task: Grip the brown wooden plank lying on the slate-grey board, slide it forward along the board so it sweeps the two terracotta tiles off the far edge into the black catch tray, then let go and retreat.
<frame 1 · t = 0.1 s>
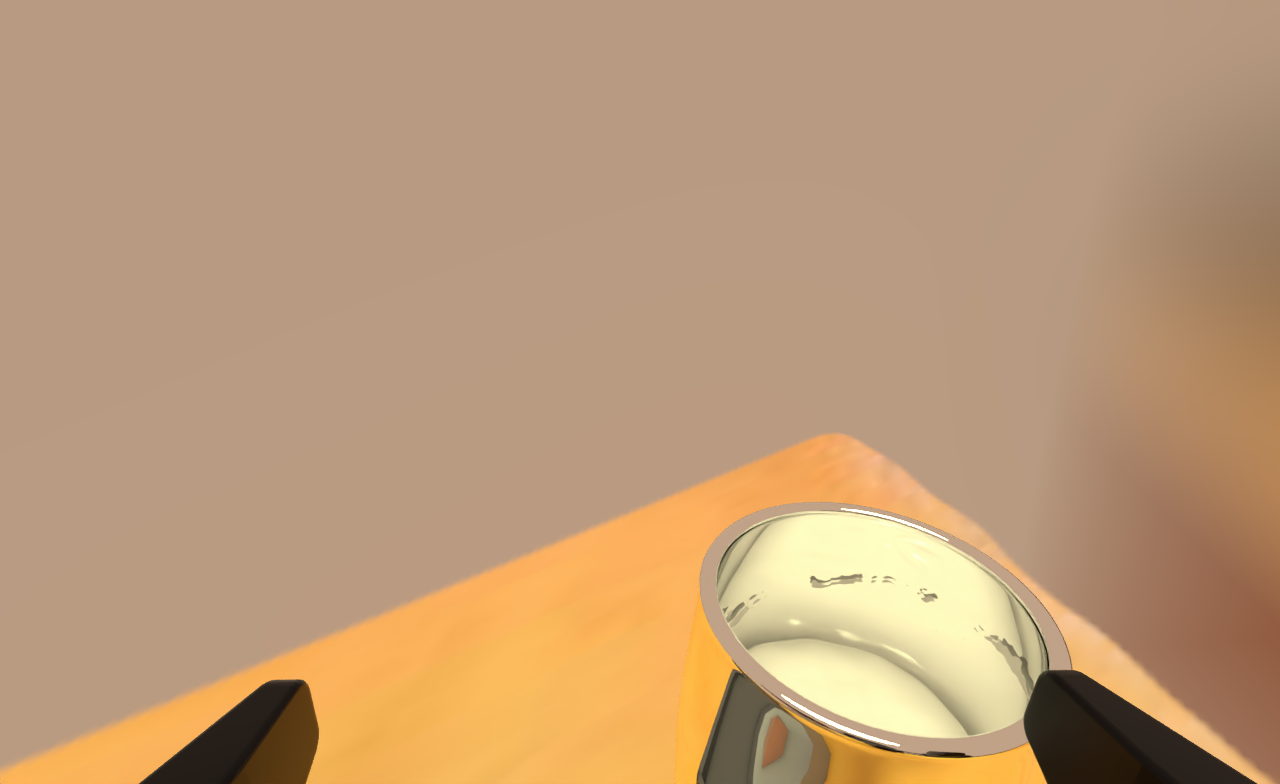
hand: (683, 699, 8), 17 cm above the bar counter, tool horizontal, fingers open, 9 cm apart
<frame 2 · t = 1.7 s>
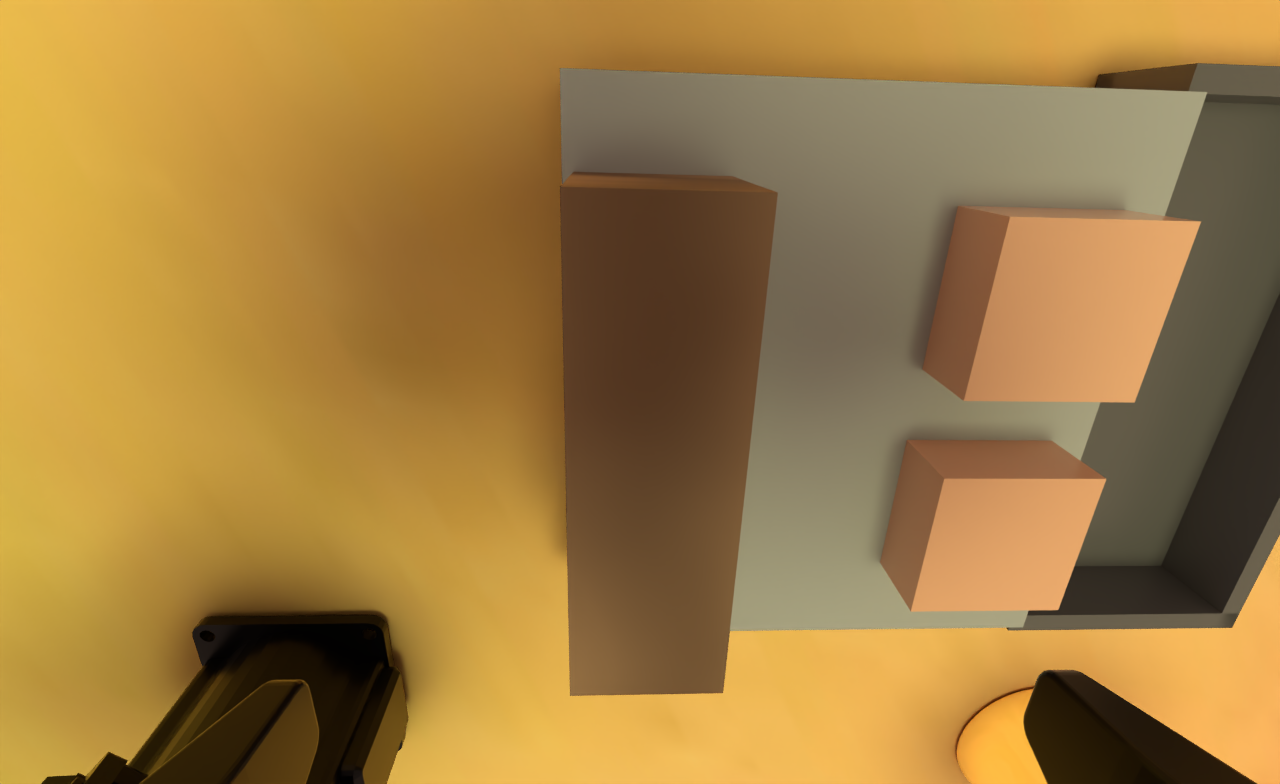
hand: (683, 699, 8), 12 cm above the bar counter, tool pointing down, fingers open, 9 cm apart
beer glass: (1022, 733, 27), on the bar counter
tile a: (962, 503, 17), point 3 cm above the bar counter, touching board
brown wooden plank: (645, 403, 16), point 3 cm above the bar counter, touching board
tile b: (1019, 293, 15), point 3 cm above the bar counter, touching board
board: (800, 359, 19), on the bar counter
tray: (1124, 362, 20), on the bar counter
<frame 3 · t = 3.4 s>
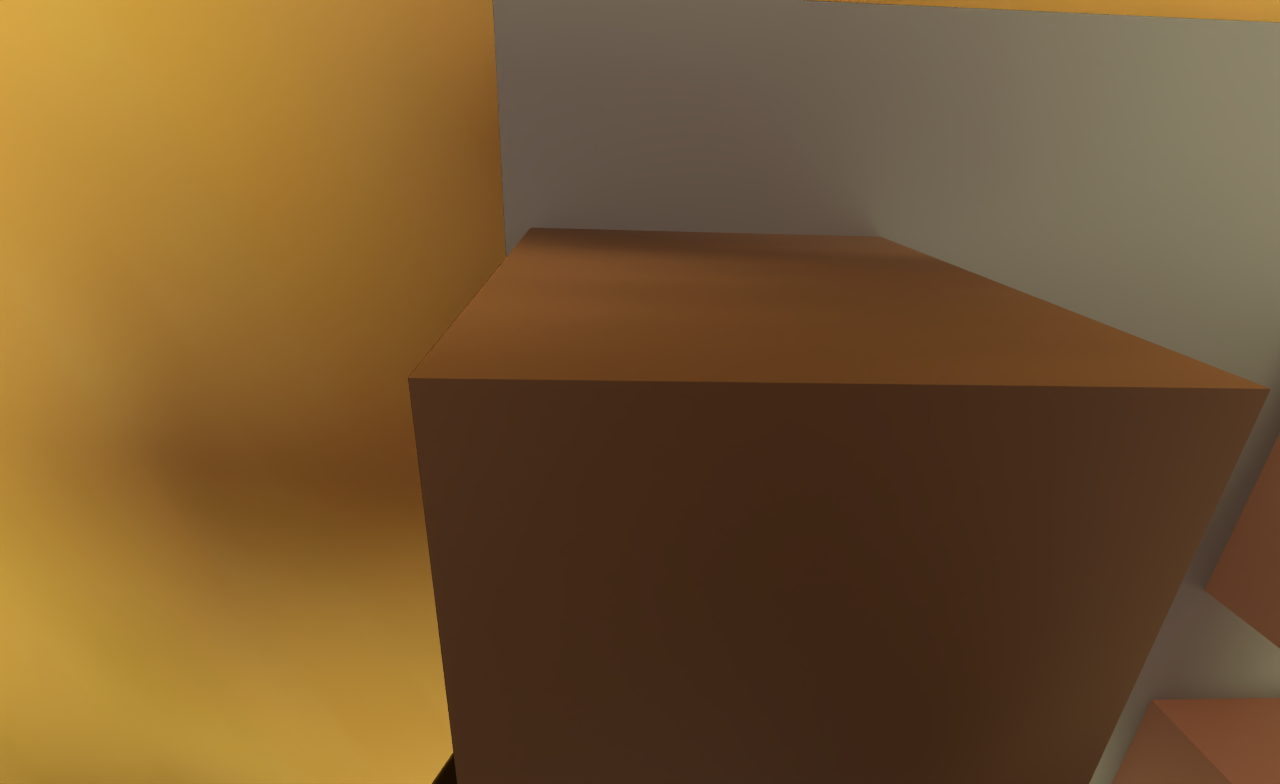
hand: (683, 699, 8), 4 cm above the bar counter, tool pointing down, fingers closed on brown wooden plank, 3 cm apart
brown wooden plank: (677, 653, 8), point 3 cm above the bar counter, touching board, gripper
board: (921, 507, 12), on the bar counter
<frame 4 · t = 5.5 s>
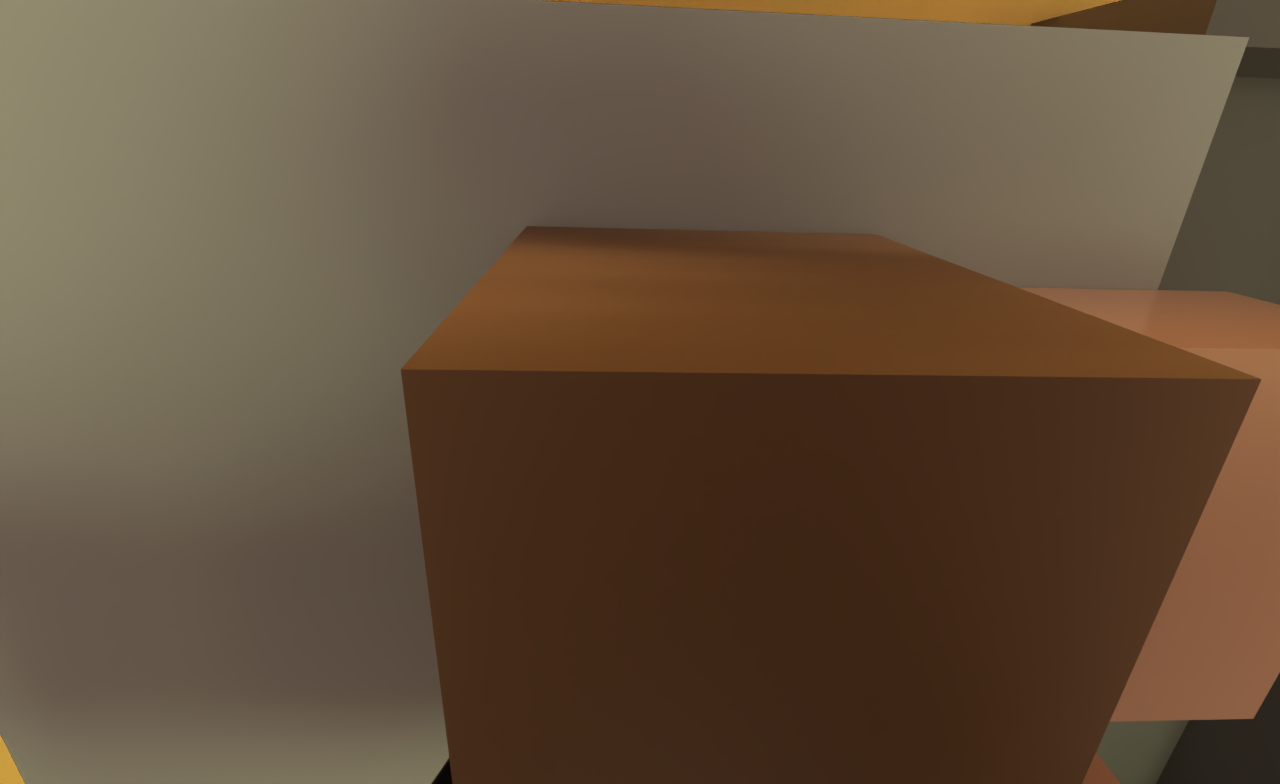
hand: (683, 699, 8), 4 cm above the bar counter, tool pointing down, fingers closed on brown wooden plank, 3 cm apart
brown wooden plank: (675, 652, 8), point 4 cm above the bar counter, touching gripper, tile a, tile b
tile b: (1002, 454, 7), point 4 cm above the bar counter, touching brown wooden plank
board: (544, 508, 11), on the bar counter
tray: (1088, 512, 12), on the bar counter
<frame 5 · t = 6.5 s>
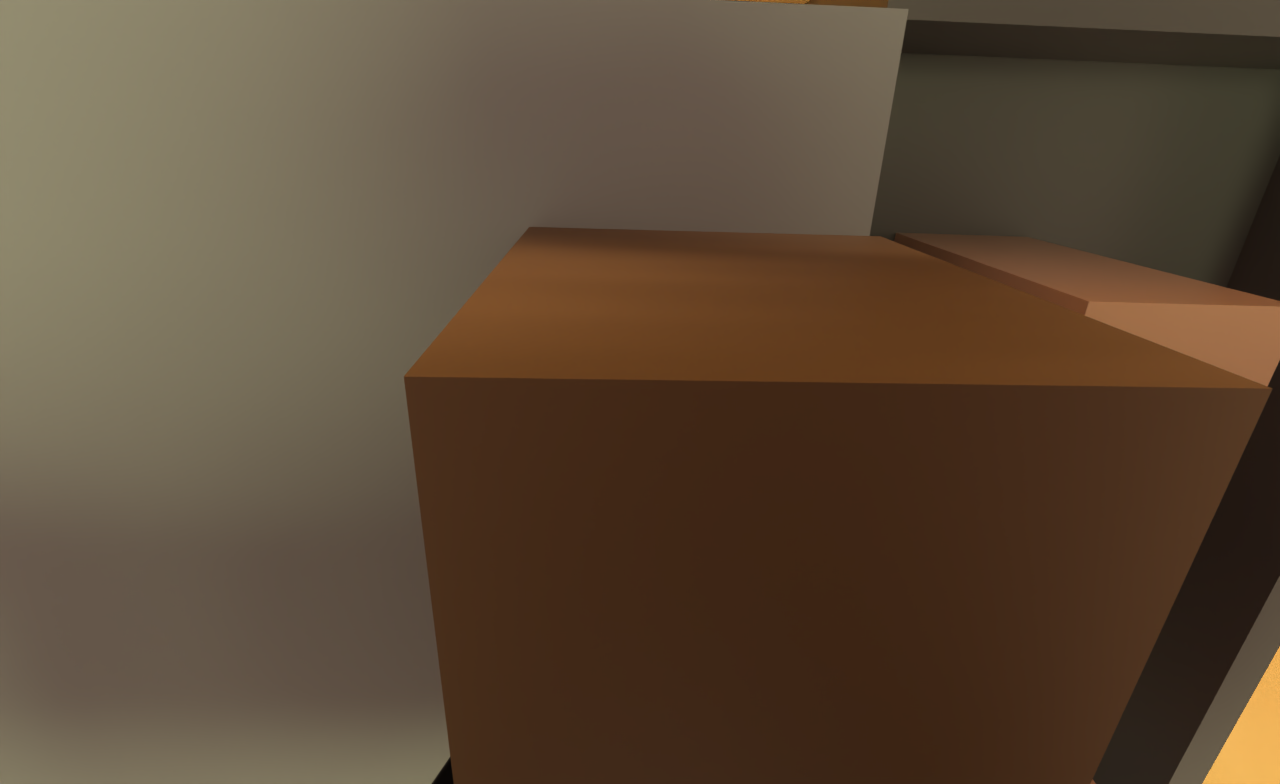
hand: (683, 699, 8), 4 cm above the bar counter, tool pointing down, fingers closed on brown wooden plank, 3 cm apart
brown wooden plank: (676, 653, 8), point 4 cm above the bar counter, touching board, gripper
tile b: (930, 413, 8), point 3 cm above the bar counter, tilted 90°, touching tray
board: (362, 507, 11), on the bar counter
tray: (928, 509, 12), on the bar counter
when the fingers open (4 cm above the bar counter, at t = 7.8 s): brown wooden plank stays where it is, resting on board.
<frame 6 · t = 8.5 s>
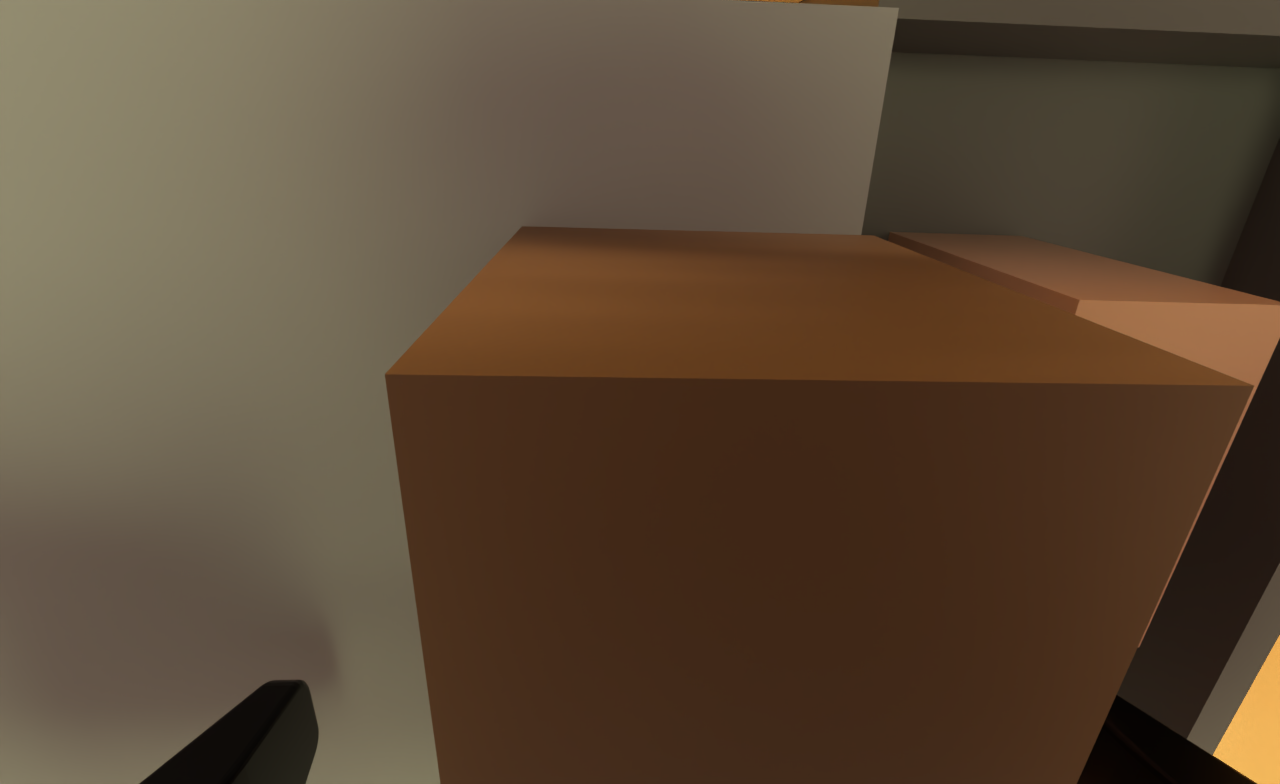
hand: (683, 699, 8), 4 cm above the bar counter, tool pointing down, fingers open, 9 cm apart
brown wooden plank: (671, 653, 8), point 3 cm above the bar counter, touching board
tile b: (924, 412, 8), point 3 cm above the bar counter, tilted 90°, touching tray
board: (357, 507, 11), on the bar counter
tray: (923, 509, 12), on the bar counter
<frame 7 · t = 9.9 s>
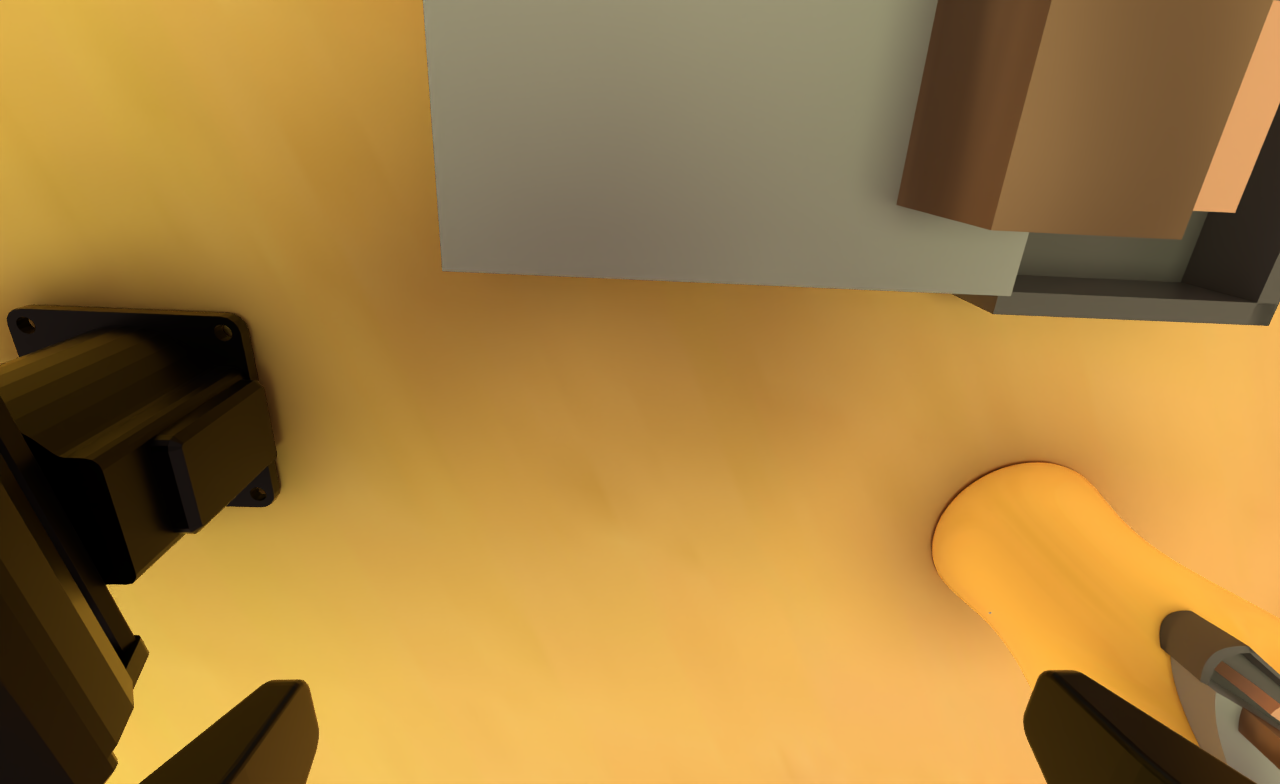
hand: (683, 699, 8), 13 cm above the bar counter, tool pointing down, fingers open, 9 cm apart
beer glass: (1010, 530, 23), on the bar counter
tile a: (1113, 111, 15), point 3 cm above the bar counter, tilted 90°, touching tray
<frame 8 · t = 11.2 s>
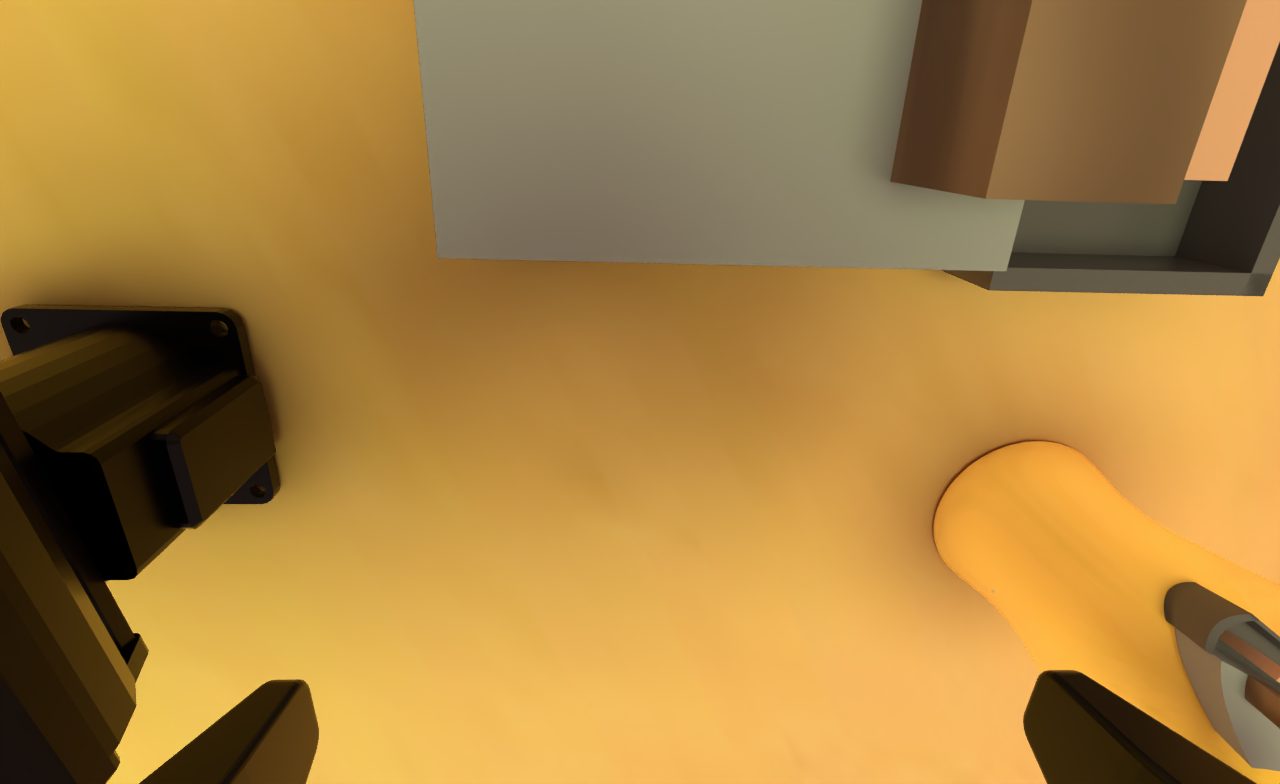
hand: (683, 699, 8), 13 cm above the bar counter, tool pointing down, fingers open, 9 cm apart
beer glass: (1010, 510, 23), on the bar counter
tile a: (1104, 84, 15), point 3 cm above the bar counter, tilted 90°, touching tray
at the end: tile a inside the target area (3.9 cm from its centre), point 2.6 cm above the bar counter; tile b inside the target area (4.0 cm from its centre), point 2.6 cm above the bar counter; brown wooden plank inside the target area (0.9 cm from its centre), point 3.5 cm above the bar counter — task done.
